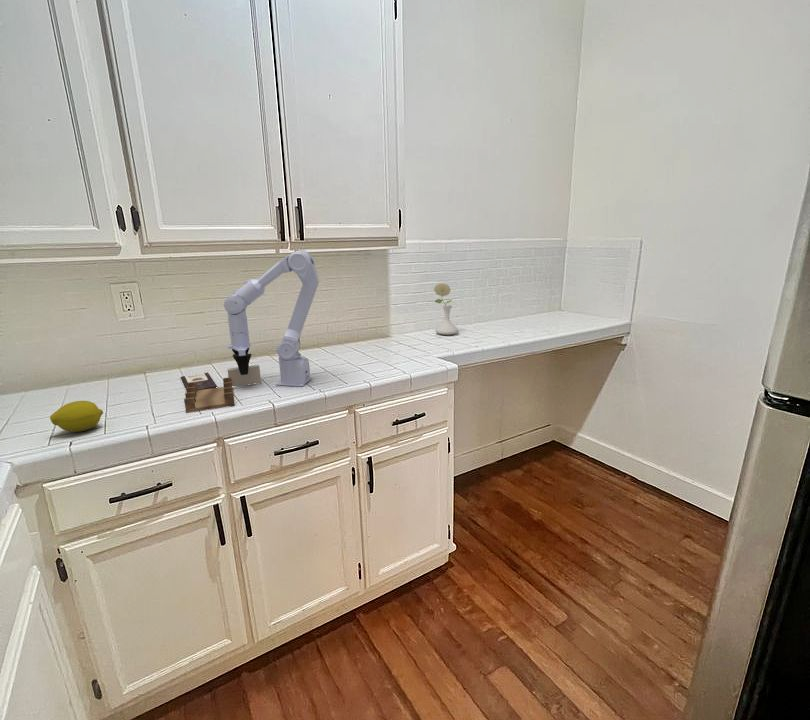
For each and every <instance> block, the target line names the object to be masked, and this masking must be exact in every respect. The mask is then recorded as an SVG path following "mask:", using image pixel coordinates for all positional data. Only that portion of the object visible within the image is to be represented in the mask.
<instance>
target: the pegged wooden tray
mask: <svg viewBox="0 0 810 720" xmlns="http://www.w3.org/2000/svg"><path fill="white" fill-rule="evenodd" d="M222 380H223V381H222V382H223V383H222V385H223V386H221V387H220V386H219V387H217V388H211V389H204V390H197V386H196V382H189V383H187V386H188V387H187V388H186V389H185V390H186V392H185V393H184V395H185V398H184V399H183V401H184V408H185V413H186V414H188V413H193V412H201V411H205V410H207V409H208V410H213V409H220V408H221V409H222V408H228V407H234V406H235V405H236V404H235V397H234V387H232V380H231V377H228V376H227V377H223V378H222Z"/></svg>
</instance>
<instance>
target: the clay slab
mask: <svg viewBox="0 0 810 720" xmlns="http://www.w3.org/2000/svg"><path fill="white" fill-rule="evenodd" d="M260 369H261V367H260V364H254V365H253V364H252V365H249V368H248V374H247V375H241V374H240V371H239V368H238V366H237V367H228V368H227V378H228V377H231V380H232V386H237V387H242V386H241V385H244V386H249V385H248V384H252V385H255V384H254V383H259V384H262V379H261V377H262V376H261V370H260Z"/></svg>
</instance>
